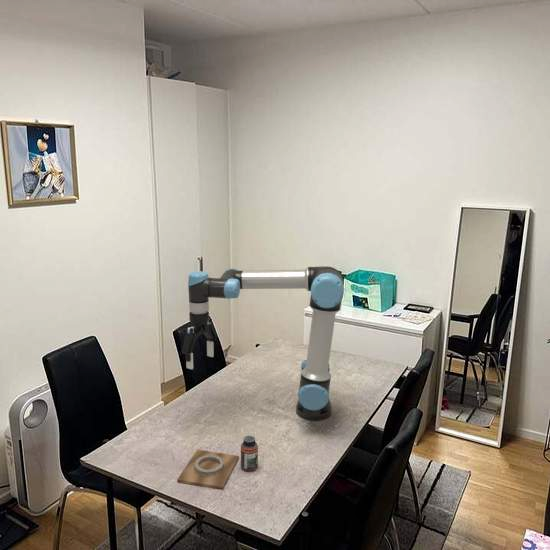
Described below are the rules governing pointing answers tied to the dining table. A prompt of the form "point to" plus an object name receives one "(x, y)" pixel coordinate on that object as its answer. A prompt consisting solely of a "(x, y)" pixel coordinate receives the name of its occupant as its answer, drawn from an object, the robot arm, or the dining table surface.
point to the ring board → (208, 469)
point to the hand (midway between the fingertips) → (200, 362)
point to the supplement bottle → (249, 454)
